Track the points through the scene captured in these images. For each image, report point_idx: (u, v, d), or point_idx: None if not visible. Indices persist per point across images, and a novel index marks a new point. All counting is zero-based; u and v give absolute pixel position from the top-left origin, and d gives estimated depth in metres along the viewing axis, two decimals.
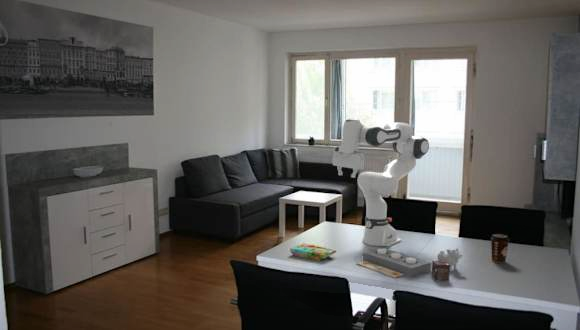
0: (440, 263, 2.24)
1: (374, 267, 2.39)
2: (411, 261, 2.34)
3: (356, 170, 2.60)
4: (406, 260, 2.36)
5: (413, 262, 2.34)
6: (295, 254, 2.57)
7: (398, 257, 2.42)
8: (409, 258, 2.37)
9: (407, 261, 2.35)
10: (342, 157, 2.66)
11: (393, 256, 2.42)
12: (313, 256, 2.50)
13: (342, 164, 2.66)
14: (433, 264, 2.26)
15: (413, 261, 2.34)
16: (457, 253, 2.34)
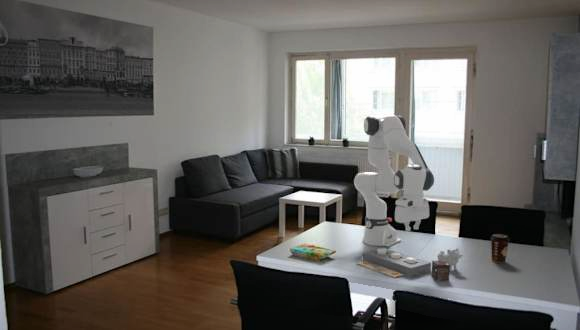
0: (440, 263, 2.24)
1: (374, 267, 2.39)
2: (411, 261, 2.34)
3: None
4: (406, 260, 2.36)
5: (413, 262, 2.34)
6: (295, 254, 2.57)
7: (398, 257, 2.42)
8: (409, 258, 2.37)
9: (407, 261, 2.35)
10: (411, 210, 2.31)
11: (393, 256, 2.42)
12: (312, 256, 2.50)
13: (412, 219, 2.31)
14: (433, 264, 2.26)
15: (413, 261, 2.34)
16: (457, 253, 2.34)
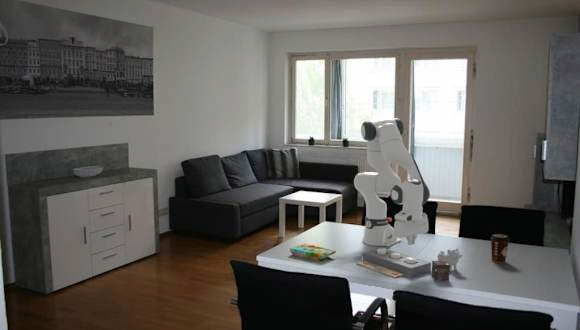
0: (440, 263, 2.24)
1: (374, 267, 2.39)
2: (411, 261, 2.34)
3: None
4: (406, 260, 2.36)
5: (413, 262, 2.34)
6: (295, 254, 2.57)
7: (398, 257, 2.42)
8: (409, 258, 2.37)
9: (407, 261, 2.35)
10: (410, 225, 2.31)
11: (393, 256, 2.42)
12: (312, 256, 2.50)
13: (411, 233, 2.32)
14: (433, 264, 2.26)
15: (413, 261, 2.34)
16: (457, 253, 2.34)
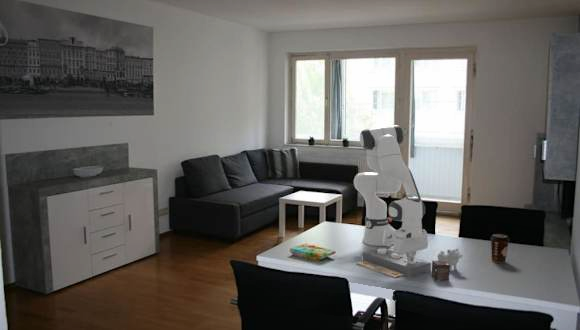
0: (440, 263, 2.24)
1: (374, 267, 2.39)
2: (411, 263, 2.34)
3: None
4: (406, 262, 2.36)
5: None
6: (294, 254, 2.57)
7: (398, 257, 2.42)
8: None
9: None
10: (409, 242, 2.32)
11: (393, 256, 2.42)
12: (311, 256, 2.50)
13: (411, 250, 2.33)
14: (433, 264, 2.26)
15: (413, 263, 2.34)
16: (457, 253, 2.34)
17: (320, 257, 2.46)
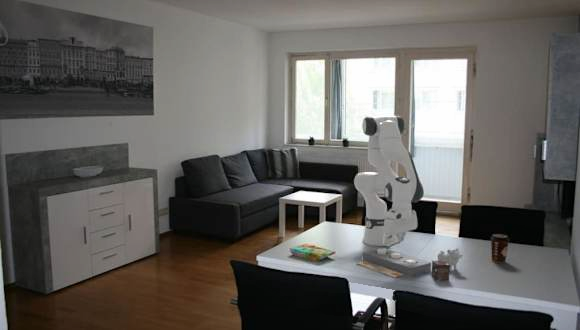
0: (440, 263, 2.24)
1: (374, 267, 2.39)
2: (411, 263, 2.34)
3: None
4: (406, 262, 2.36)
5: None
6: (294, 254, 2.57)
7: (398, 257, 2.42)
8: (409, 260, 2.37)
9: None
10: (399, 222, 2.37)
11: (393, 256, 2.42)
12: (310, 256, 2.50)
13: (401, 230, 2.38)
14: (433, 264, 2.26)
15: (413, 263, 2.34)
16: (457, 253, 2.34)
17: (319, 257, 2.46)
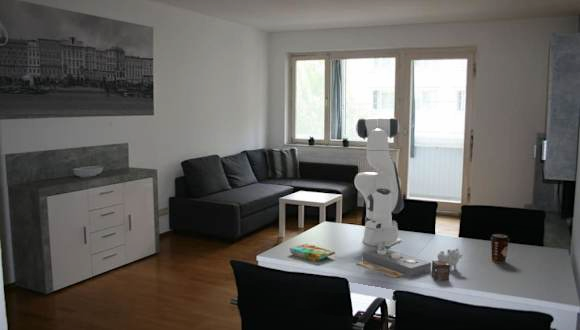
0: (440, 263, 2.24)
1: (374, 267, 2.39)
2: (411, 263, 2.34)
3: None
4: (406, 262, 2.36)
5: None
6: (294, 254, 2.57)
7: (398, 257, 2.42)
8: (409, 260, 2.37)
9: None
10: (380, 232, 2.46)
11: (393, 256, 2.42)
12: (310, 256, 2.50)
13: (381, 240, 2.47)
14: (433, 264, 2.26)
15: (413, 263, 2.34)
16: (457, 253, 2.34)
17: (318, 257, 2.46)
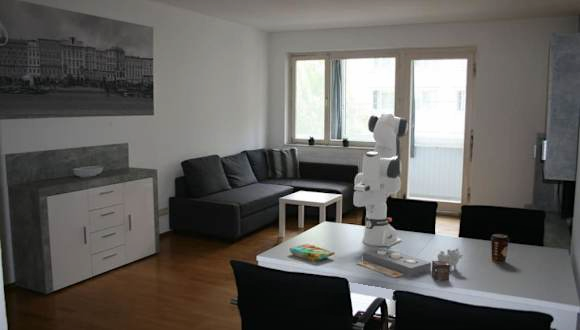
0: (440, 263, 2.24)
1: (374, 267, 2.39)
2: (411, 263, 2.34)
3: None
4: (406, 262, 2.36)
5: None
6: (294, 254, 2.58)
7: (398, 257, 2.42)
8: (409, 260, 2.37)
9: None
10: (368, 195, 2.45)
11: (393, 256, 2.42)
12: (309, 257, 2.49)
13: (370, 203, 2.46)
14: (433, 264, 2.26)
15: (413, 263, 2.34)
16: (457, 253, 2.34)
17: (317, 257, 2.45)
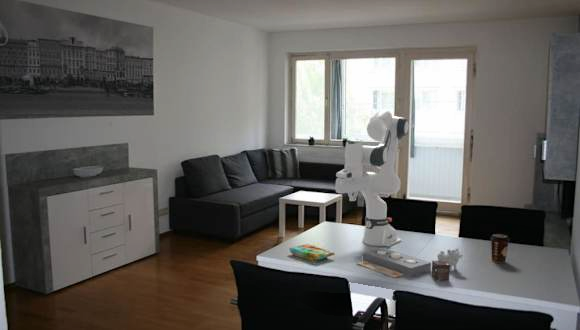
0: (440, 263, 2.24)
1: (374, 267, 2.39)
2: (411, 263, 2.34)
3: None
4: (406, 262, 2.36)
5: None
6: (294, 254, 2.58)
7: (398, 257, 2.42)
8: (409, 260, 2.37)
9: None
10: (351, 182, 2.46)
11: (393, 256, 2.42)
12: (308, 257, 2.49)
13: (352, 190, 2.47)
14: (433, 264, 2.26)
15: (413, 263, 2.34)
16: (457, 253, 2.34)
17: (316, 258, 2.45)
